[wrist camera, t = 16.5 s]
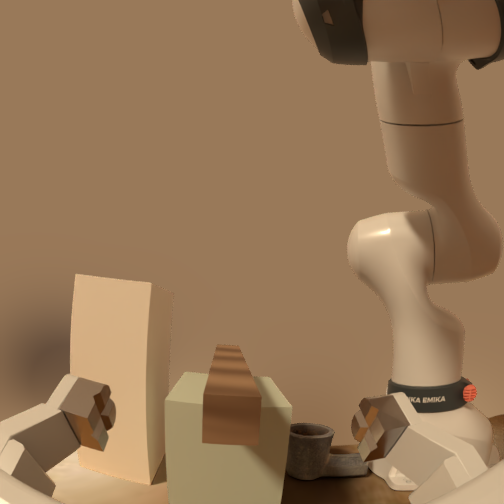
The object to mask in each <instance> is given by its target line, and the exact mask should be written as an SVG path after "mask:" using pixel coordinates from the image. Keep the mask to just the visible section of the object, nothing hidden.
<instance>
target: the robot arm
mask: <svg viewBox="0 0 504 504" xmlns="http://www.w3.org/2000/svg"><path fill="white" fill-rule="evenodd" d="M293 11H294V14H295V18H296V21H297V23H298V26H299V27H300V29H301V31H302V33H303V34H304V35H305V37H306V38H307V39H308V41H309V42H310V43H311V44H312V45H313V46H314V47H315V48H317V49H318V50H319V53H320V55H321V56H323V57H324V58H326V59H327V60H329V61H330V62H332V63H336V64H346V65H366V64H367V62H371V68H372V76H373V85H374V92H375V98H376V104H377V110H378V115H379V120H380V125H381V130H382V136H383V141H384V146H385V153H386V160H387V167H388V171H389V174H390V176H391V177H392V179H393V180H394V182H395V183H396V184H397V185H398V186H399V187H400V188H402V189H403V190H404V191H406V192H407V193H409V194H410V195H412V196H414V197H417V198H419V199H422V200H424V201H426V202H428V203H429V204H431V205H432V208H431V209H429V210H425V211H409V212H394V213H385V214H380V215H377V216H373V217H370V218H366V219H363V220H360V221H359V222H357V224H356V225H355V227H354V228H353V229H352V231H351V233H350V236H349V239H348V244H347V256H348V261H349V264H350V267H351V268H352V271H353V272H354V274H355V275H356V277H358V279H359V280H360V281H361V282H363V283H364V284H366V285H367V286H368V287H369V288H370V289H372V290H373V291H374V292H375V294H376V295H377V296H378V297H379V299H380V300H381V301H382V303H383V305H384V306H385V308H386V310H387V313H388V315H389V318H390V321H391V325H392V332H393V368H392V378H391V379H390V380H389V382H388V386H387V390H386V395H380V396H373V397H367V398H364V399H363V400H362V401H361V403H360V404H359V407H360V409H361V410H359V411H358V412H357V413H356V414H355V415H354V417H353V419H352V425H351V429H352V434H353V437H354V439H355V440H357V441H359V442H360V444H359V446H358V450H359V453H360V455H361V458H362V460H363V462H367V461H369V466H368V467H369V468H370V470H371V471H372V472H374V473H375V474H376V475H378V476H380V477H381V478H383V479H384V480H385V481H386V482H387V484H388V485H389V487H390V488H392V489H393V490H414V491H413V492H412V493H411V494H410V495H409V497H408V498H409V500H410V503H411V504H504V459H503V460H501V461H500V455H499V451H498V449H497V447H496V446H495V445H494V444H493V428H492V425H491V423H490V421H489V420H488V418H487V417H486V416H484V415H483V414H482V413H481V412H480V411H479V410H478V409H477V408H476V407H475V406H474V405H473V404H471V403H470V401H472V400H474V399H473V398H475V397H476V395H477V393H476V392H477V391H476V388H475V386H474V385H472V383H471V382H470V381H469V380H468V379H465V378H464V377H462V376H461V373H462V364H463V354H464V340H465V330H464V326H463V324H462V322H461V320H460V319H459V318H458V317H457V316H456V315H455V314H453V313H452V312H450V311H448V310H446V309H445V308H443V307H440V306H438V305H436V304H435V303H433V302H432V301H431V299H430V298H429V295H428V292H427V288H426V286H427V285H430V284H443V283H459V282H469V281H472V280H476V279H479V278H482V277H485V276H488V275H490V274H492V273H494V271H495V270H496V269H497V267H498V265H499V263H500V260H501V257H502V252H503V238H502V233H501V230H500V227H499V225H498V223H497V222H496V220H495V219H494V217H493V216H492V215H491V214H490V213H489V212H488V211H487V210H485V209H484V207H483V206H482V205H481V203H480V202H479V200H478V199H477V197H476V195H475V193H474V190H473V187H472V184H471V180H470V175H469V167H468V158H467V148H466V138H465V127H464V118H463V109H462V103H461V98H460V94H459V89H458V85H457V79H456V71H457V68H458V66H459V65H460V63H462V62H463V61H465V60H469V62H470V63H471V64H472V65H473V66H474V67H475V68H476V69H478V70H479V69H481V68H484V67H485V66H487V65H488V64H490V63H492V62H496V61H500V60H503V59H504V0H293ZM110 395H111V390H110V387H109V386H108V385H106V384H102V383H99V382H95V381H91V380H88V379H85V378H81V377H77V376H74V375H71V374H67V375H65V376H64V378H63V379H62V380H61V382H60V383H59V385H58V386H57V388H56V389H55V391H54V392H53V394H52V395H51V397H50V399H49V400H48V402H47V403H46V404H43V403H42V404H40V405H38V406H35V407H33V408H31V409H29V410H26V411H24V412H22V413H20V414H17V415H15V416H13V417H11V418H8V419H6V420H4V421H1V422H0V504H65V503H63V502H60V501H58V500H56V499H54V498H52V494H53V492H54V489H55V483H54V482H53V481H52V479H51V478H50V477H49V476H48V475H47V474H46V473H45V472H47V471H48V470H50V469H51V468H52V467H54V466H55V465H57V464H58V463H59V462H61V461H62V460H64V459H65V458H66V457H68V456H69V455H70V454H72V453H73V452H74V451H76V450H77V449H79V448H80V447H81V446H85V447H88V448H91V449H95V450H98V451H102V452H104V449H105V447H106V444H107V441H108V439H109V436H108V433H107V431H108V430H110V429H111V428H113V426H114V423H115V419H116V407H115V403H114V401H113V400H112V399H111V398H110ZM80 445H81V446H80Z"/></svg>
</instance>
